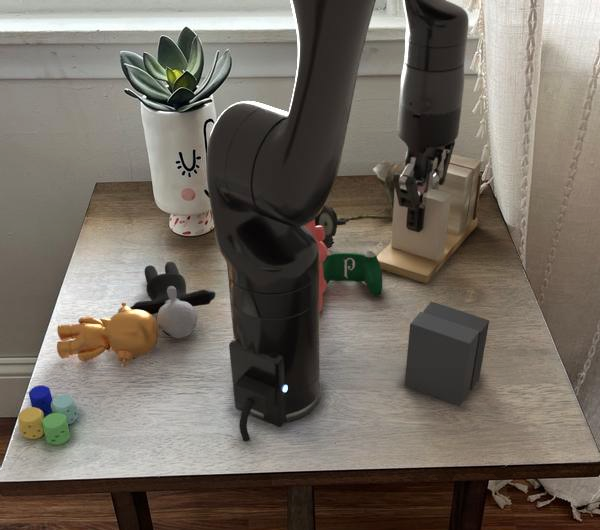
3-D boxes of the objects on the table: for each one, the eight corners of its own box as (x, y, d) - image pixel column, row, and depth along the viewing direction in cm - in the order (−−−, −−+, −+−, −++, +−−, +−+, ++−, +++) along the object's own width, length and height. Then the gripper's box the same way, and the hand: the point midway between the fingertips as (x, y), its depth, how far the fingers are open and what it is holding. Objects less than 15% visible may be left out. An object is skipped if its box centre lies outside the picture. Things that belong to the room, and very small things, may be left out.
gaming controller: (381, 299, 110) (383, 255, 110) (381, 294, 106) (384, 248, 107) (312, 296, 111) (315, 253, 111) (310, 291, 107) (313, 246, 107)
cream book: (436, 261, 111) (443, 201, 105) (390, 247, 114) (394, 188, 108) (444, 252, 113) (451, 193, 107) (398, 238, 116) (403, 180, 110)
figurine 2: (121, 292, 110) (138, 355, 99) (113, 253, 106) (130, 315, 95) (202, 277, 112) (228, 337, 101) (197, 239, 109) (223, 297, 98)
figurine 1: (65, 381, 100) (164, 373, 99) (49, 363, 94) (153, 354, 94) (67, 318, 102) (163, 309, 102) (51, 296, 97) (152, 288, 96)
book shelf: (426, 283, 110) (433, 216, 103) (373, 266, 113) (376, 200, 106) (476, 225, 120) (486, 160, 113) (426, 211, 123) (433, 147, 116)
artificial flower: (294, 242, 120) (288, 172, 116) (410, 211, 131) (408, 146, 127) (331, 253, 113) (326, 179, 109) (450, 219, 124) (449, 152, 120)
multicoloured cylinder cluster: (57, 393, 95) (5, 418, 92) (52, 376, 93) (-1, 401, 90) (92, 431, 90) (38, 459, 87) (88, 414, 88) (33, 442, 85)
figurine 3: (304, 324, 104) (303, 219, 93) (279, 305, 107) (275, 202, 96) (335, 308, 106) (337, 204, 96) (309, 290, 109) (308, 188, 99)
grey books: (460, 406, 92) (470, 343, 86) (404, 385, 95) (409, 323, 89) (479, 378, 95) (490, 316, 89) (424, 358, 98) (431, 297, 92)
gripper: (427, 73, 105) (416, 195, 117) (375, 113, 96) (370, 241, 108) (482, 84, 102) (466, 208, 114) (434, 127, 93) (422, 257, 105)
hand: (419, 224), depth 111 cm, fingers closed on cream book, 2 cm apart
